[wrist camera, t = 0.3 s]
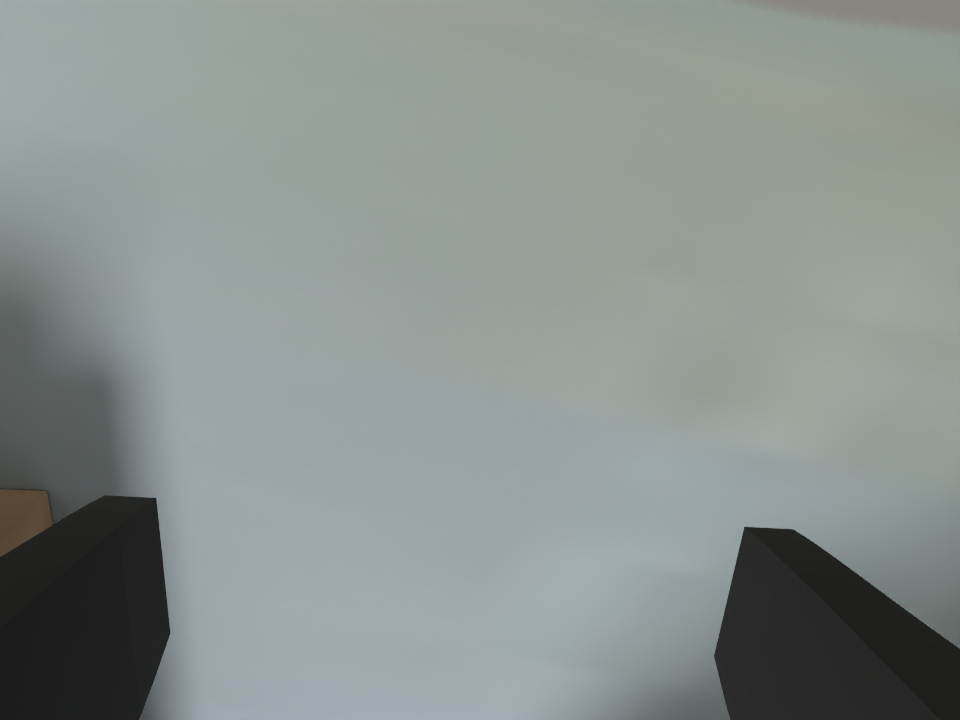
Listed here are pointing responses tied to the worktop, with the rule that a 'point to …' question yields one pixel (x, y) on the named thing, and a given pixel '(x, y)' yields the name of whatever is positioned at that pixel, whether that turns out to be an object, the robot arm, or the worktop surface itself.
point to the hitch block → (22, 517)
